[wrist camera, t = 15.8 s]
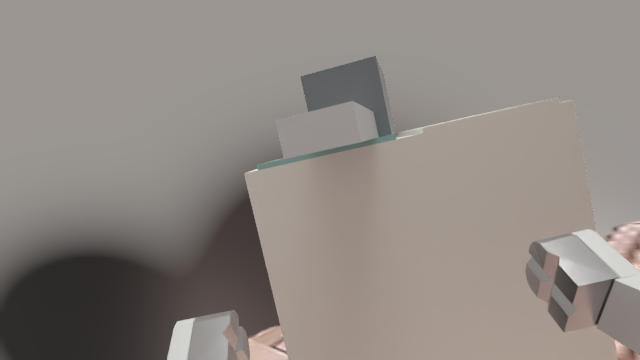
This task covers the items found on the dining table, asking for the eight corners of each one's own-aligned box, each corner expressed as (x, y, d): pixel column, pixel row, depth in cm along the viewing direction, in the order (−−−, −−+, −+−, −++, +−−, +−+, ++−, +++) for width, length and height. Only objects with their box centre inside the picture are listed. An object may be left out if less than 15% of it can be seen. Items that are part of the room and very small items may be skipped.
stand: (629, 431, 29) (573, 94, 27) (323, 503, 29) (242, 167, 27) (526, 341, 43) (483, 113, 41) (318, 389, 43) (265, 162, 41)
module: (382, 137, 18) (355, 9, 18) (266, 163, 20) (238, 45, 19) (395, 133, 39) (383, 74, 39) (338, 145, 40) (326, 89, 40)
